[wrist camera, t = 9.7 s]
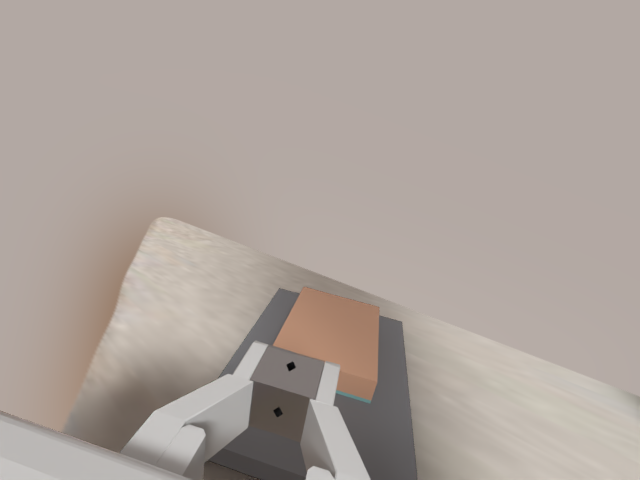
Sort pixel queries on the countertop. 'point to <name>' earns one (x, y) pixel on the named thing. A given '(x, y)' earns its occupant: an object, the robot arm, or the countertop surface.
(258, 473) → the board
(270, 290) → the countertop surface
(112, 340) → the countertop surface
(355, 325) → the tile
